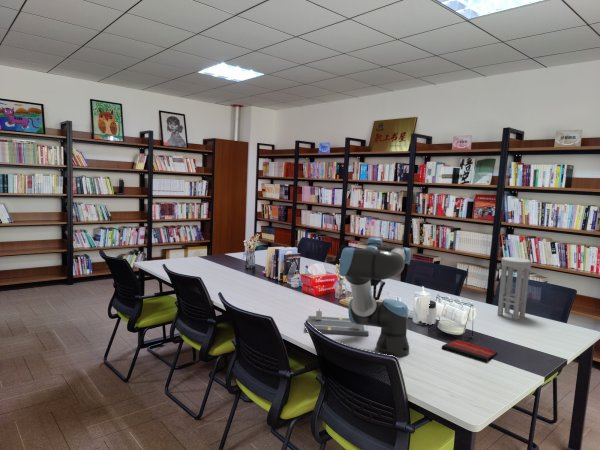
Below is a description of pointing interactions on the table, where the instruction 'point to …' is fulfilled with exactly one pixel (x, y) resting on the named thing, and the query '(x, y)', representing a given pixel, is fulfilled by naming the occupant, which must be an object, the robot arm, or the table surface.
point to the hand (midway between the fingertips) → (370, 312)
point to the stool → (520, 264)
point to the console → (337, 326)
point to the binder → (470, 350)
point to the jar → (431, 313)
